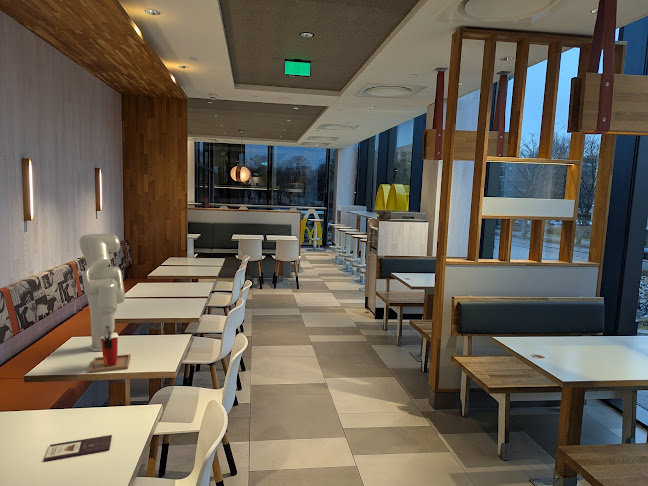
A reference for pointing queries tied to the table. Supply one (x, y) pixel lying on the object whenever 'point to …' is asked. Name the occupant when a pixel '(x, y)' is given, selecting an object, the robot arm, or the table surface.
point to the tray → (100, 367)
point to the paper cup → (110, 350)
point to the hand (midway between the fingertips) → (109, 344)
